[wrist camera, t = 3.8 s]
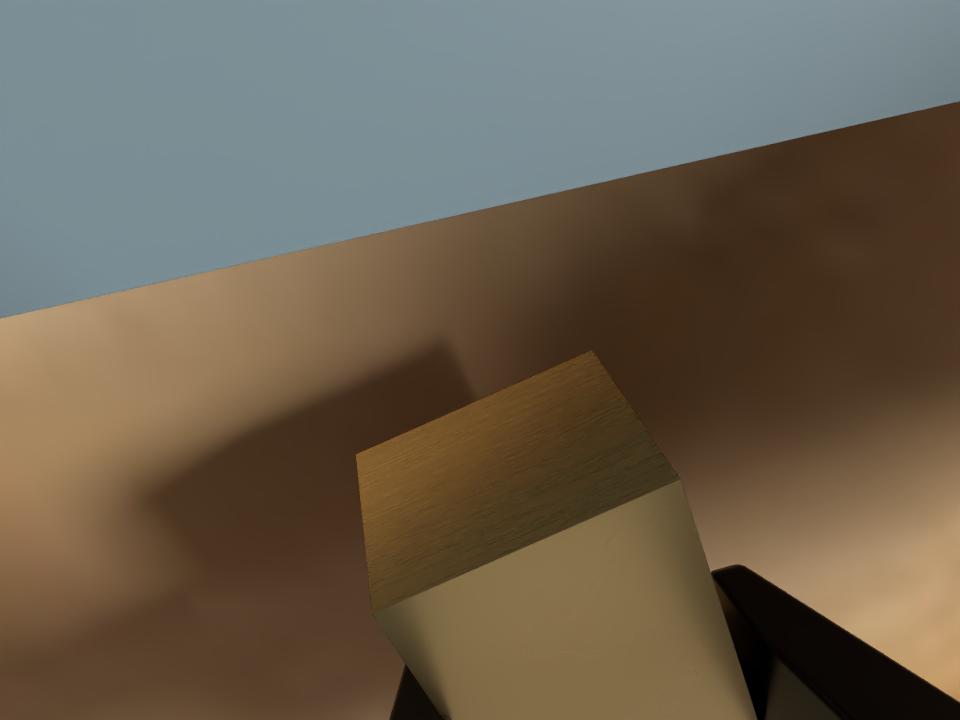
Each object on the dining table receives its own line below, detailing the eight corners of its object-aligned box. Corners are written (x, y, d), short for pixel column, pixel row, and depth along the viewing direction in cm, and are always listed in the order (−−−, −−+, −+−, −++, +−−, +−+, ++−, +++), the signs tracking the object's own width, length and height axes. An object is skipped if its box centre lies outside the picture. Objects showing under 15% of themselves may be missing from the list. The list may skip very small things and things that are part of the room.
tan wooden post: (592, 350, 9) (680, 479, 7) (701, 658, 12) (787, 814, 10) (356, 454, 9) (371, 613, 7) (524, 735, 12) (571, 907, 10)
